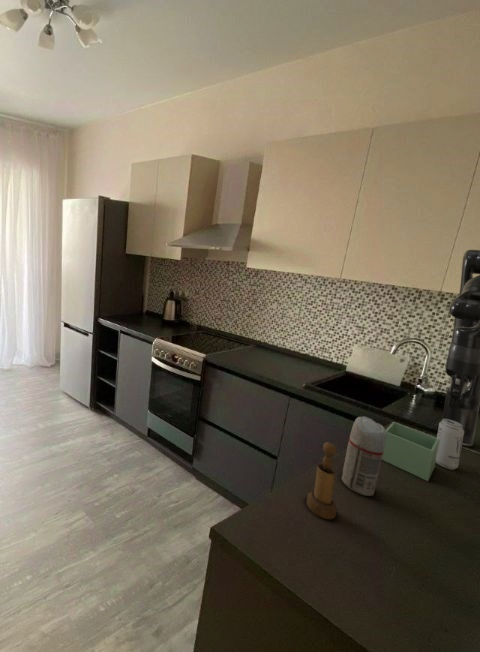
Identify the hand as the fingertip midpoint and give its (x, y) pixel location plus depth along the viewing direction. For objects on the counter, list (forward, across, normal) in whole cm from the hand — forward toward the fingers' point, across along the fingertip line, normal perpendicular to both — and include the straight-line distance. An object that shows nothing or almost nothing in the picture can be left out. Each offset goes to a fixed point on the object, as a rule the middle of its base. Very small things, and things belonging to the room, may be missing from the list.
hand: (455, 405), depth 112 cm
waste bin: (+21, -12, +8) cm, 25 cm away
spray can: (+22, -42, +14) cm, 49 cm away
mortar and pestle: (+22, -62, +17) cm, 68 cm away
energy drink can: (+21, 0, 0) cm, 21 cm away
